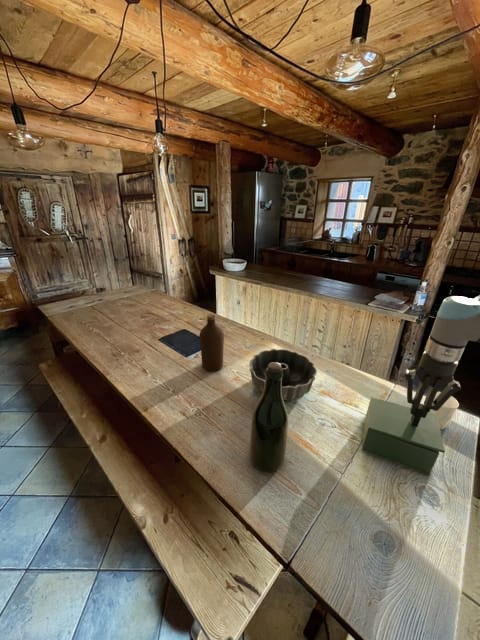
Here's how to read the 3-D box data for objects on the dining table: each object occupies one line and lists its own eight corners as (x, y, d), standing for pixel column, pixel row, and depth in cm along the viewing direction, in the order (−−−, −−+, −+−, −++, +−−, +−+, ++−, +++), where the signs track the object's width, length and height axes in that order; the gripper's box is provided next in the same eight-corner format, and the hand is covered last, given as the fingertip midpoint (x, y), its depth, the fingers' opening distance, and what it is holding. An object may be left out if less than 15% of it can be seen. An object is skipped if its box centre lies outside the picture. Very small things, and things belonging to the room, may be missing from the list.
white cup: (426, 428, 90) (435, 405, 86) (417, 411, 97) (426, 389, 93) (452, 432, 88) (463, 410, 84) (442, 415, 95) (452, 393, 91)
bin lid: (435, 416, 82) (436, 414, 82) (443, 453, 70) (444, 451, 70) (370, 398, 90) (371, 396, 90) (368, 429, 78) (368, 427, 78)
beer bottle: (260, 436, 86) (266, 349, 72) (290, 452, 81) (303, 361, 67) (242, 461, 78) (245, 368, 64) (274, 480, 73) (285, 384, 59)
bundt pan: (283, 360, 125) (285, 342, 121) (327, 392, 105) (331, 372, 101) (236, 379, 112) (236, 359, 108) (276, 419, 92) (278, 397, 88)
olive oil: (209, 375, 114) (207, 323, 103) (196, 364, 122) (193, 314, 111) (229, 366, 120) (228, 316, 110) (215, 356, 128) (214, 308, 117)
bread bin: (423, 437, 87) (432, 417, 83) (428, 475, 75) (439, 453, 71) (365, 418, 94) (370, 398, 90) (361, 450, 82) (368, 429, 78)
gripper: (413, 356, 68) (389, 423, 78) (476, 370, 63) (442, 441, 73) (410, 343, 74) (389, 407, 84) (468, 355, 69) (438, 422, 79)
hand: (413, 423), depth 79 cm, fingers closed
